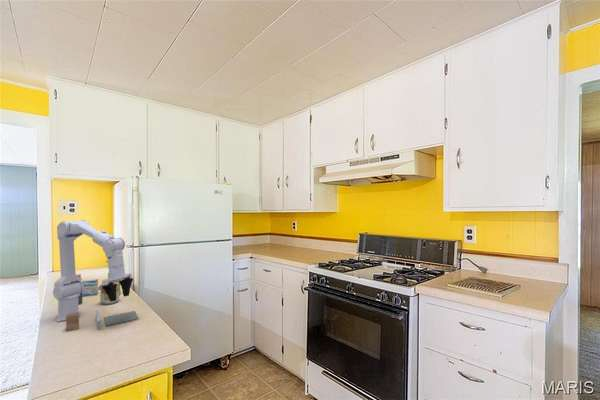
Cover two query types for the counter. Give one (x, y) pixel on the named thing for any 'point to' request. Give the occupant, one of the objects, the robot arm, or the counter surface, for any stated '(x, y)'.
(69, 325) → the walnut block
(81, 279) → the bottle
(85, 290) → the medicine box
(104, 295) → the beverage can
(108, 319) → the resting mat
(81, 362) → the counter surface
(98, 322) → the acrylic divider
